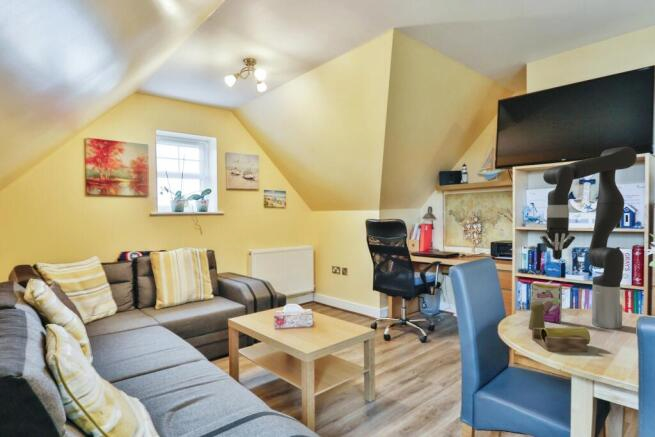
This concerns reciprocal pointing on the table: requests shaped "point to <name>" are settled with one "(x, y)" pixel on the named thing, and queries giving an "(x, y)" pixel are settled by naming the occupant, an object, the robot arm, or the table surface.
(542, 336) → the vase
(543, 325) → the cork
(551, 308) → the candy bar box
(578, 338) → the u rest
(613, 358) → the table surface
